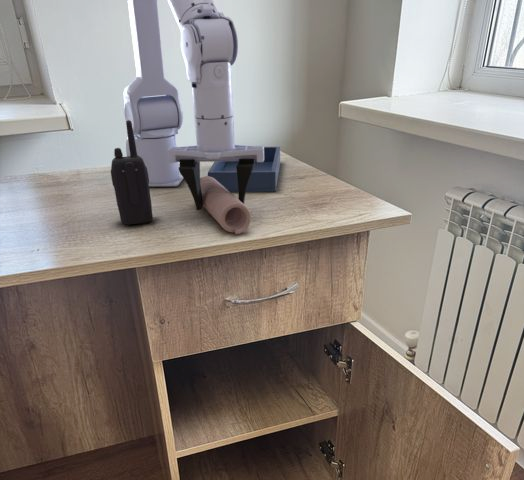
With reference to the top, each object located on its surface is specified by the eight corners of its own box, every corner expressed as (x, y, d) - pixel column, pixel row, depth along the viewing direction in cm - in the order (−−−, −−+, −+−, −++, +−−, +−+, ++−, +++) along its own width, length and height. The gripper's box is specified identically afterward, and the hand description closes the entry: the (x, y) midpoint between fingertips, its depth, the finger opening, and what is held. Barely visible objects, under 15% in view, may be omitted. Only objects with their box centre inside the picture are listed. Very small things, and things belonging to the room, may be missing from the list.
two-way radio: (153, 217, 82) (138, 118, 74) (157, 225, 79) (142, 122, 70) (119, 221, 81) (100, 120, 73) (121, 230, 77) (102, 125, 69)
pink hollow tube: (253, 203, 72) (218, 174, 87) (222, 204, 71) (192, 175, 85) (251, 234, 75) (218, 201, 89) (221, 235, 73) (192, 202, 88)
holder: (209, 192, 94) (207, 172, 92) (224, 164, 113) (223, 147, 111) (275, 191, 93) (275, 171, 91) (280, 163, 112) (280, 146, 110)
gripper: (158, 121, 70) (170, 216, 78) (261, 120, 69) (263, 216, 77) (169, 113, 76) (180, 202, 84) (264, 112, 75) (266, 202, 83)
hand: (220, 208), depth 80 cm, fingers open, 6 cm apart
